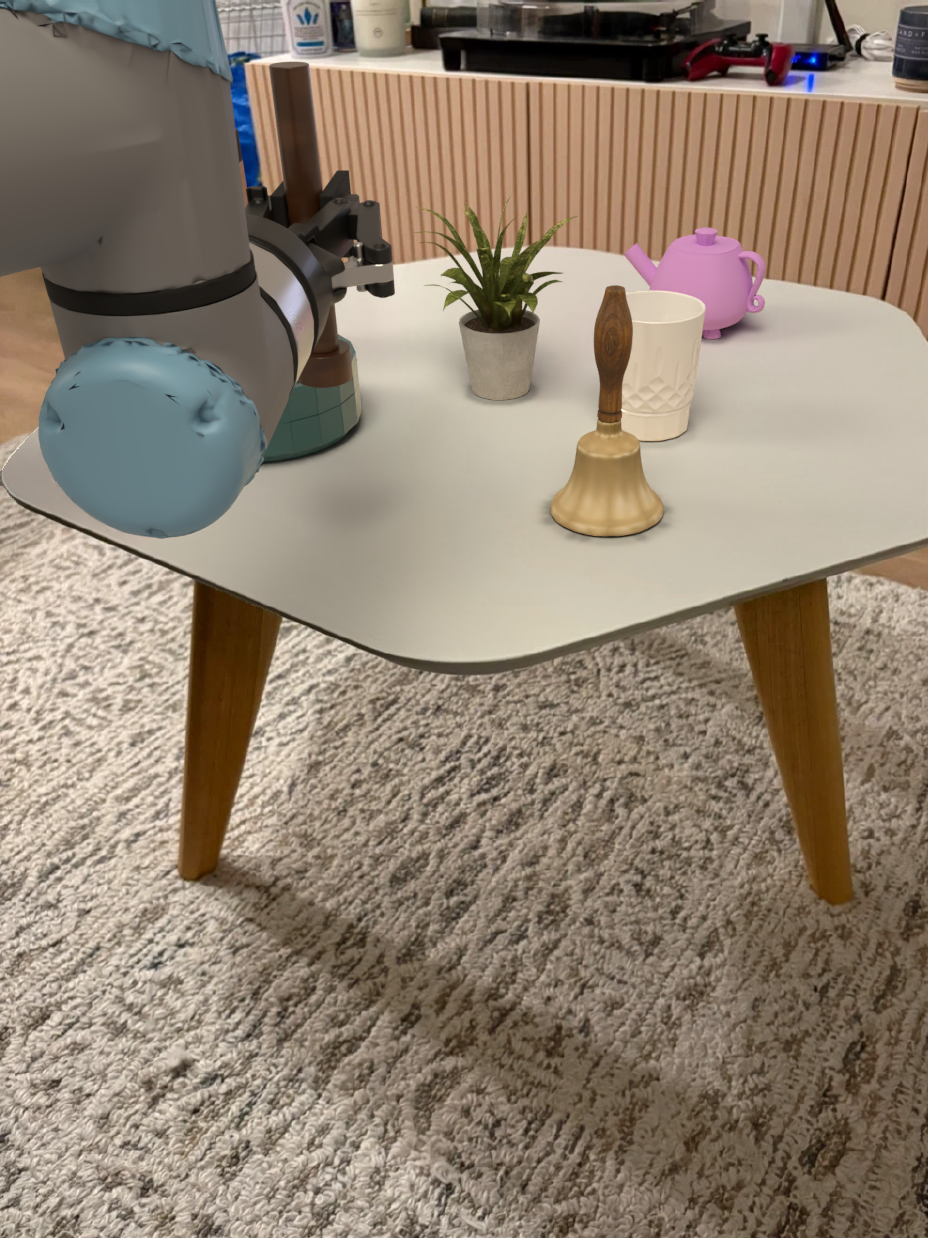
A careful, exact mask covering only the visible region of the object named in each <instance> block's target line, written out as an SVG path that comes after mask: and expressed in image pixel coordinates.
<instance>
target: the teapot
mask: <svg viewBox="0 0 928 1238" xmlns="http://www.w3.org/2000/svg"><path fill="white" fill-rule="evenodd" d="M694 233H695V234H688V235H684V236H680V237H678V238H676V239H675V240H673V241H672V242H671V243H670V245H669V246H668V248H667V249H666V251H665V252H664V254H663V255H662V257H661V259H660V261H659V262H658V264H657V266H656V265H655V263H653V261H652V260H651V259H650V257H649V256H648V255H647V254H646V252H645V251H644V250H643V248H642V247H641V246H640V245H639V243H638V242H636V243H635V244H634V245H632V246H631V247H629V249H628V250H626V252H624V253H623V256H624V257H625V258H626V260H627V261H628V262H629V263H630V264H631V266H632V267H633V268H634V269H635V271H636V272H637V273H638V274H639V275H640V277H641V278H642V279H643V280H644V282H645V283H646V284H647V285H648V286H649V290H656V291H670V292H677V293H682V294H686V295H689V296H692V297H695V298H697V299H699V300H700V301H702V302H703V303H704V305H705V307H706V310H705V317H704V324H703V332H702V338H704V339H709V340H717V339H720V338H721V337H722V335H721V329H724V328H728V327H732V326H733V325H735V324H737V323H739V322H740V321H741V320H742V319H743V318H744V317H745V316H746V314H747V313H748V312H749V313H751V314H757V313H760V312H762V311H763V310H764V309H765V306H766V299H765V298H764V296H762V295H761V294H757V293H758V292H759V289H760V288H761V285H762V282H763V281H764V278H765V275H766V269H767V267H766V262H765V259H764V258H763V257H762V255H760V254H759V253H757V252H755V251H752V250H744V249H743V247H742V245H741V242H740V241H739V240H737V239H736V238H732V237H728V236H722V235H718V230H717V229H716V228H713V227H699V228H696V229H695V230H694ZM748 260H750V261H752V262H754V264H755V265H756V276H755V279H754V281H753V275H752V270H751V268H750V264H749V261H748ZM755 301H757V305H755Z"/></svg>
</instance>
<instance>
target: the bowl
mask: <svg viewBox="0 0 928 1238" xmlns="http://www.w3.org/2000/svg"><path fill="white" fill-rule="evenodd" d="M338 340H342V341H345V342H347V343H348V344H349V345H350V350H351V360H352V370H353V377H352V379H351V380H350V381H349V382H347V383H345V384H343V385H340V386H336V387H330V388H312V387H307V386H304V385H302V384H300V383H299V381H297V383H296V385H295V387H294V389H293V391H292V393H291V395H290V397H289V399H288V403H287V405H286V407H285V409H284V411H283V414H282V416H281V418H280V420H279V423H278V425H277V427H276V429H275V431H274V434H273V436H272V438H271V440H270V442H269V445H268V447H267V449H266V451H265V454H264V461H263V462H262V463H269V462H278V461H285V460H290V459H295V458H300V457H304V456H307V455H311V454H314V453H317V452H320V451H322V450H324V449H327V448H329V447H330V446H333V445H334V444H336V443H338V442H339V441H341V440H342V439H344V437H345V436H347V434H349V432H350V431H351V429H352V428H353V427H355V426H356V425H357V424H358V423H359V420H360V417H361V414H362V411H363V408H362V399H361V388H360V379H359V369H358V359H357V351H356V350H355V347H354V345H353V342H352V341H351V340H349V339H348V338H345V337H344V336H343V335H340V334H339V333H338Z"/></svg>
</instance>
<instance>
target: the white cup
mask: <svg viewBox="0 0 928 1238" xmlns="http://www.w3.org/2000/svg"><path fill="white" fill-rule="evenodd" d="M626 299H627V303H628V306H629V310H630V314H631V318H632V325H633V339H632V349H631V354H630V359H629V362H628V366H627V368H626V371H625V374H624V378H623V383H622V409H621V410H622V418H621V428H622V430H623V431H625V432H628V433H630V434H632V435H634V436H635V437H636V438H637V439H638V441H639V442H658V441H659V442H661V441H666V440H671V439H674V438H677V437H679V436H681V435H682V434H684V433H685V432H687V430H688V425H689V419H690V412H691V404H692V399H693V397H694V394H695V386H696V382H697V375H698V369H699V361H700V352H701V346H702V339H703V336H702V332H703V324H704V317H705V310H706V307H705V305H704V303H703V302H702V301H700V300H699V299H697V298H695V297H692V296H689V295H686V294H682V293H677V292H670V291H656V290H650V289H649V290H637V291H636V290H635V291H629V292H626Z"/></svg>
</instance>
